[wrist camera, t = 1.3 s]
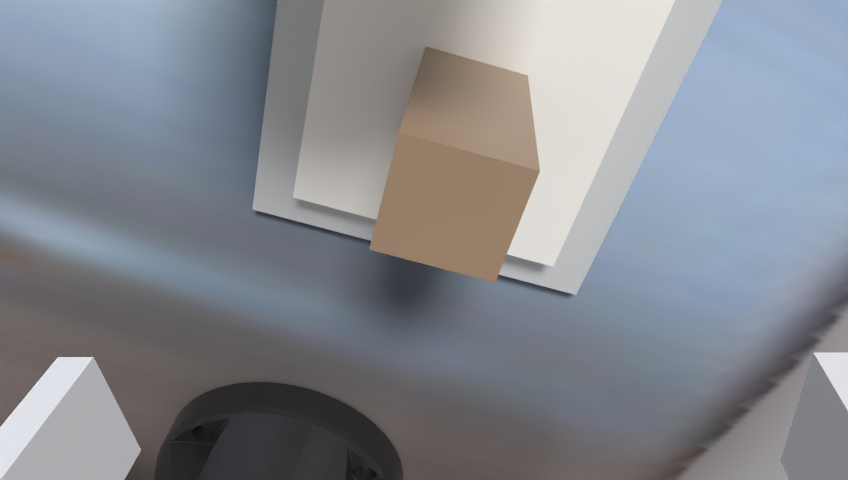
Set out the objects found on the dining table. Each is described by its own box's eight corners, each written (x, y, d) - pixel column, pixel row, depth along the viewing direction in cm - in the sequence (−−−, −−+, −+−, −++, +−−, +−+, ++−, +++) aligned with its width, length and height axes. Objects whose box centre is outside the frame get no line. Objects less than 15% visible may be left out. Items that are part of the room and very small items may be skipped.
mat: (574, 287, 31) (576, 295, 31) (256, 203, 31) (252, 209, 30) (743, -55, 23) (748, -52, 22) (304, -188, 22) (299, -188, 21)
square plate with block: (551, 251, 30) (570, 400, 22) (299, 184, 29) (229, 313, 21) (668, -10, 23) (754, 72, 16) (347, -105, 22) (270, -68, 15)
